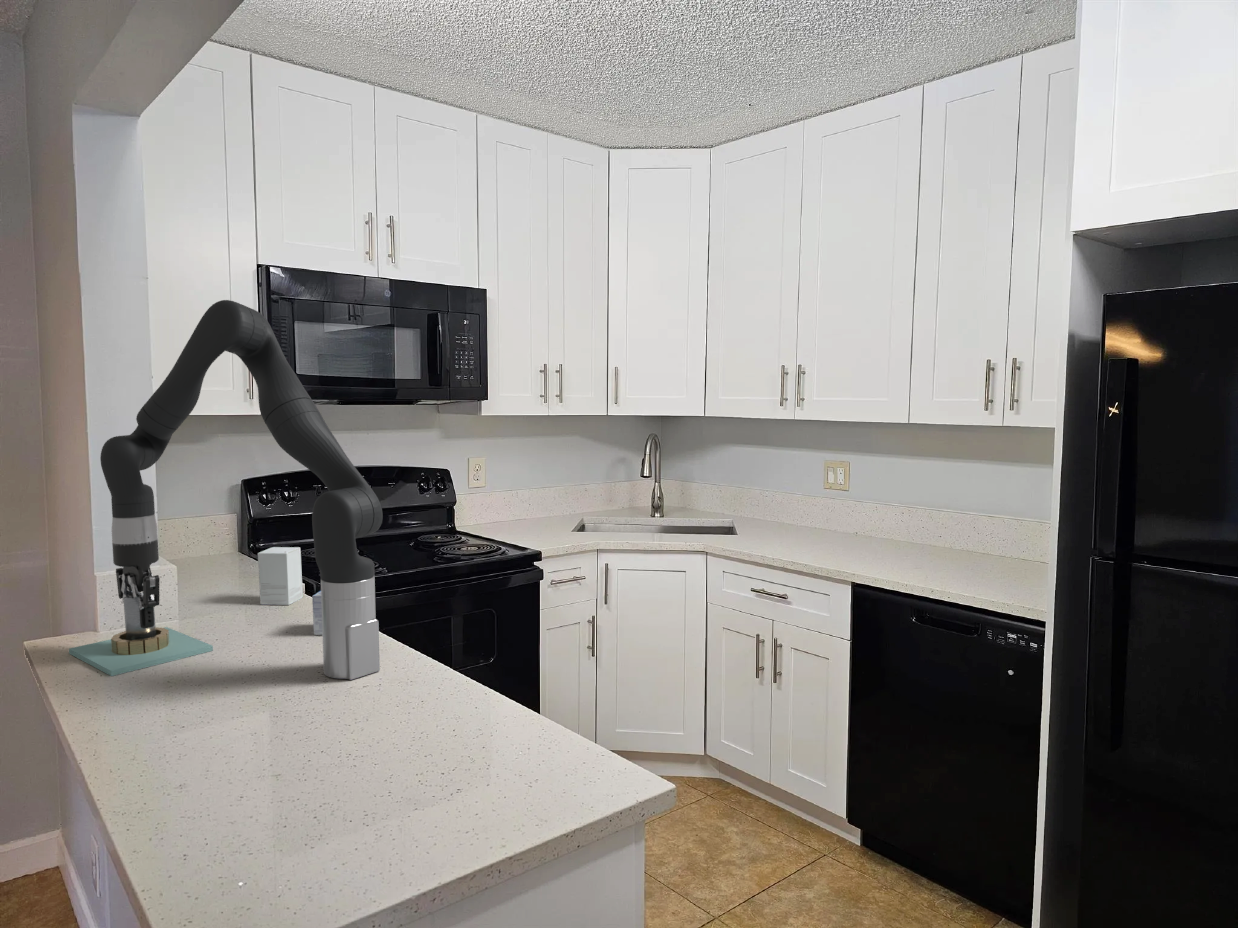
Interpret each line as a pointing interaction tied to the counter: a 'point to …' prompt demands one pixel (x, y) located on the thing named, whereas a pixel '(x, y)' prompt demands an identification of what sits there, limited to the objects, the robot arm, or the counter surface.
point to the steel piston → (135, 620)
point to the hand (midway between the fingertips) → (140, 624)
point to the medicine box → (317, 613)
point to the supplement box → (280, 575)
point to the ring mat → (118, 664)
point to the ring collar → (140, 643)
